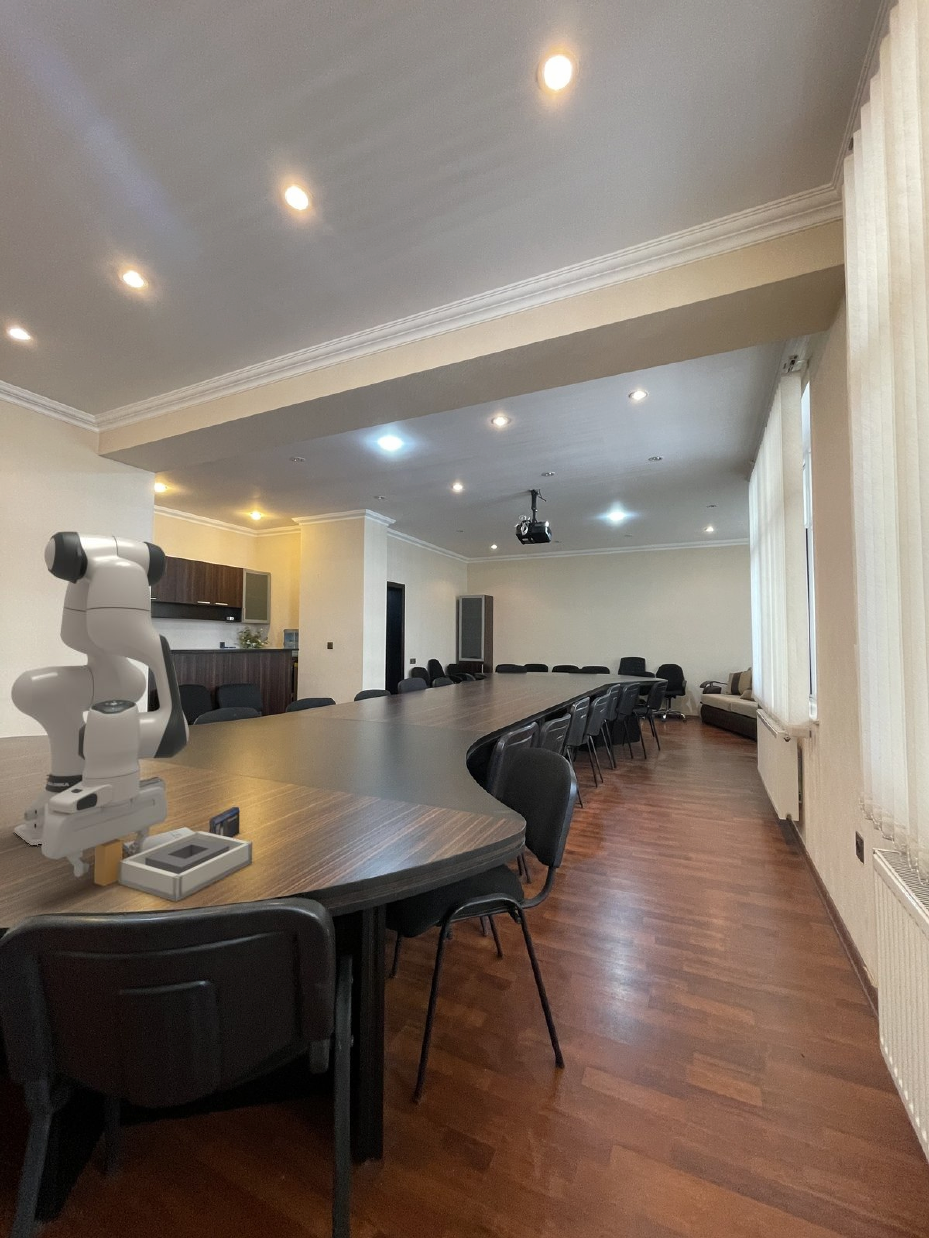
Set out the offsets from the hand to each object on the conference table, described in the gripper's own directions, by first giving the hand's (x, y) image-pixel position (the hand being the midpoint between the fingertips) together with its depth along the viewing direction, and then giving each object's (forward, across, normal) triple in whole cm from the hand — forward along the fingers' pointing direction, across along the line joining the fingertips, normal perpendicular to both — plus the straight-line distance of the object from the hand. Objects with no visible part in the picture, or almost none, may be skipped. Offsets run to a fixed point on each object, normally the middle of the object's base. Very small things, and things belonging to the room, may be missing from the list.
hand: (109, 863), depth 90 cm
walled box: (+3, -8, +11) cm, 14 cm away
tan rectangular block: (+3, 0, 0) cm, 3 cm away
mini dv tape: (+3, -22, +4) cm, 23 cm away
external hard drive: (+4, -15, -7) cm, 17 cm away
